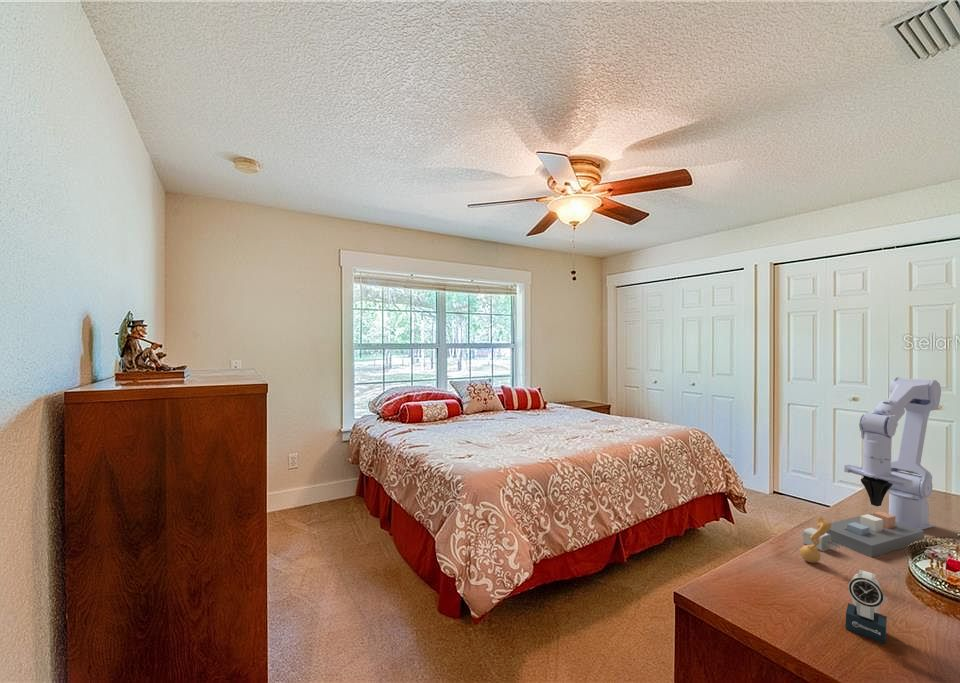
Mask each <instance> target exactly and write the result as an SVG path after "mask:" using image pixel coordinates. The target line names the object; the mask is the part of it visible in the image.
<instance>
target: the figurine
mask: <svg viewBox="0 0 960 683" xmlns="http://www.w3.org/2000/svg"><path fill="white" fill-rule="evenodd" d="M816 520H817V522H818V523H817V530H818V531H817V532H816V533H814V534H813V535H812V536H810V538H809V539H811V540H812V542H813V543H814V545H812V544H811V545H806V544H804V545H803V546H802V545H801V546H802V547H801V548H800V549H799V553H800V556H801V557H802V559H804V561H805V562H808V563H812V564H814V563H815V564H817V562H819V561H820V560H821V553H820V550H818V549H816V548H815V547H816V546H817V545H818V544H819V540H818V539H817V538H819V537H820V536H822V535H824V534H825V533H826V532H827V531H828V530H829V529H830V528H831V524H830V523H831V522H829V521H827V520H825V519H824V518H822V517H821V516H817V518H816ZM814 539H815V540H814Z"/></svg>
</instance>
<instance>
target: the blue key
mask: <svg viewBox="0 0 960 683" xmlns="http://www.w3.org/2000/svg"><path fill="white" fill-rule="evenodd" d="M869 529H870V527H867V526H864V525H861V524H859V523H856V522H853V523H849V524H847V531H850V532H853V533H855V534H858V535H861V536H866V535H869Z"/></svg>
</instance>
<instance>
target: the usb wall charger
mask: <svg viewBox="0 0 960 683" xmlns="http://www.w3.org/2000/svg"><path fill="white" fill-rule="evenodd" d="M817 531H818V529H816V528H815V527H808V528H804V530H803V536H802V537H803V540H802V542H803V544H804V545H811V544H812V545H814V543H813V542H812V540H811V539H809V538H810V536H812V535H813V534H814V533H816V532H817ZM817 539H818V540H819V544H818V545H817V546H816V547H815V548H816V549H817V550H818V551H821V552H824V551H828V550H830V549H833V550H836V548H841V545H840V544H838V543H835V542H833V541H831V535H830V534H827V533H825V534H824V535H822V536H820V537H819V538H817ZM814 540H815V539H814Z"/></svg>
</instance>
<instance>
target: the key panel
mask: <svg viewBox="0 0 960 683" xmlns="http://www.w3.org/2000/svg"><path fill="white" fill-rule="evenodd" d="M868 514H869V515H872V516H873V513H868ZM860 516H861V515H858V516H853V517H850V518H846V519H842V520H838V521H832V522H829V523H830V524H831V528H830V529H829V530H828V531H827V532H826V533H827V534H830V535H831V542H833V543H836V544H838V545H840V546H842V547H845V548H847V549H850V550H853V551H855V552H858V553H860V554H862V555H864V556H867V557H870V558H874V557H877V556H881V555H884V554H888V553H891V552H894V551H897V550H900V549H901V550H902V549H904V548H907V546H908V545H910V544H911V543H913V542H915V541H918V540H922V539H924V540H925V530H924V529H923V530H920V529H917V528H914V527H911V526H908V525H905V524H902V523H899V522H896V521H895V528H892V529H887V528H884V527H883V531H881V532H877V533H875V532H873V531H870V530H869V535H866V536H861V535H858V534H855V533H853V532H850V531H847V524H849V523H853V522H856V523H859V524H860ZM908 547H909V546H908Z"/></svg>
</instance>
